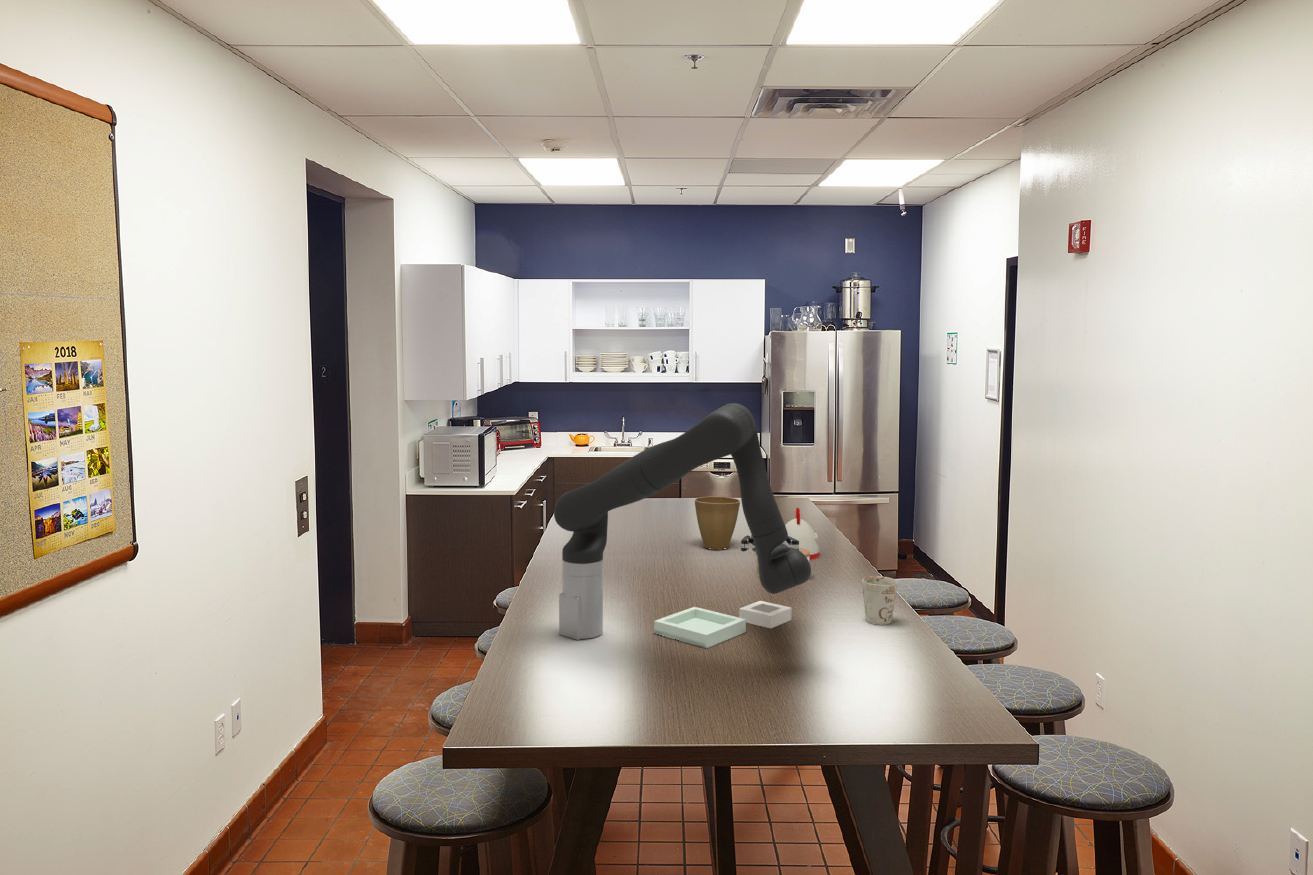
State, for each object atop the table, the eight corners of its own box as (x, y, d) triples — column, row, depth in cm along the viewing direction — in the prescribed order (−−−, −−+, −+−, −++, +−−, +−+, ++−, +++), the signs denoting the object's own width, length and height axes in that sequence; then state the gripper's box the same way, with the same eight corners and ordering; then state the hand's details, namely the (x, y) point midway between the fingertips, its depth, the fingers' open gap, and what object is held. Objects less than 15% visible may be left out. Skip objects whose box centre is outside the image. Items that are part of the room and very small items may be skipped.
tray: (706, 648, 193) (706, 634, 192) (654, 633, 202) (654, 620, 202) (745, 631, 204) (745, 619, 204) (694, 618, 214) (694, 606, 213)
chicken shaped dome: (817, 551, 287) (818, 505, 286) (820, 561, 273) (822, 513, 272) (774, 549, 288) (775, 504, 287) (775, 559, 275) (776, 512, 273)
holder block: (770, 628, 207) (771, 616, 206) (739, 620, 212) (739, 608, 212) (791, 619, 214) (791, 607, 213) (760, 612, 219) (760, 600, 219)
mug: (871, 627, 208) (873, 586, 207) (846, 612, 220) (847, 572, 219) (903, 625, 210) (904, 583, 209) (876, 609, 222) (877, 570, 221)
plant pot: (740, 553, 283) (741, 503, 281) (694, 552, 283) (695, 503, 281) (737, 542, 297) (738, 496, 296) (693, 542, 298) (694, 495, 296)
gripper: (806, 537, 196) (795, 522, 213) (742, 536, 196) (735, 521, 213) (805, 570, 197) (794, 552, 214) (741, 569, 197) (735, 551, 214)
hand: (765, 537), depth 214 cm, fingers closed on dowel, 4 cm apart
